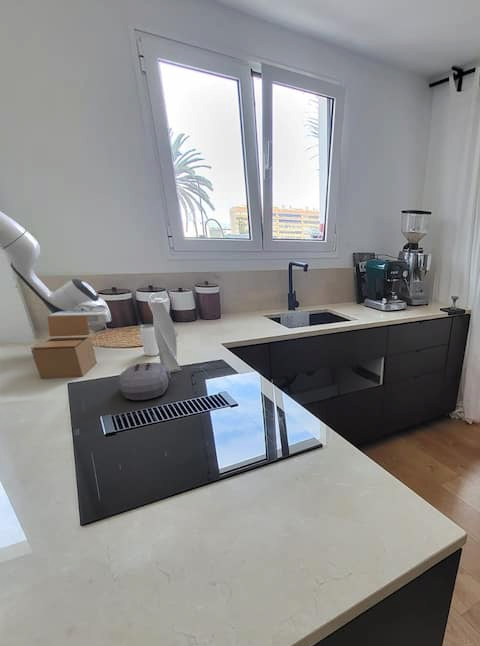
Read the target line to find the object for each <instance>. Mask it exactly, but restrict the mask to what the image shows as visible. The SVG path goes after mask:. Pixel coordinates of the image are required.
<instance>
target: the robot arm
mask: <svg viewBox="0 0 480 646" xmlns="http://www.w3.org/2000/svg"><path fill="white" fill-rule="evenodd" d="M0 249H1V250H2V251H3V252H4V253H5V254H6V255H7V256H8V258H9V260H10V267H11V269H12V270H13V272H14V273H15V274H16V276H17V277H19V279H21V281H22V282H23V283H24V284H25V285H26V286H27V287H28V288H29V289H30V290H31V291H32V292H33V293H34V294H35V295H36V297H38V298H39V299H40V300H41V302H42V303H43V305H45V307H46V308H47V309H48V310H49V312H51V313H50V314H49V316H80V315H87V316H88V325H89V326H92V325H96V324H100V323H109V322H112V315H111V311H110V308H109V306H108V303H107V302H106V301H105V300H104V299H103V298H101V297H99V295H98V292H97V291H96V290H95V288H94V287H93V286H92V285H91V284H90V283H88V282H86V281H85V280H82V279H78V278H72V279H71V280H69V281H68V282H66V283H65V284H63V285H62V286H61V287H59V288H58V289H56V290H55V291H51V290H50V289H49V288H48V287H47V286H46V285H45V284H44V283H43V282H42V281H41V279H40V278H39V277H37V275H36V274H35V266H36V264H37V262H38V261H39V258H40V256H41V246H40V243H39V241H38V240H37V239H36V238H35V237H34V236H33V235H32V234H31V233H30V232H29V231H28V230H26V229H25V228H24V227H23V226H22V225H20V224H19V223H18V222H17V221H15V219H13V218H11V217H10V216H8V215H7V214H6V213H4V212H2V211H1V210H0Z"/></svg>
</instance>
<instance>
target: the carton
mask: <svg viewBox="0 0 480 646" xmlns="http://www.w3.org/2000/svg"><path fill="white" fill-rule="evenodd" d="M30 349H31V350H30V351H31V354H32V357H33V360H34V363H35V366H36V369H37V372H38V375H39V378H40V380H44V379H61V378H63V379H64V378H78V377H79V378H80V377H84V376H85V375H87V373H88V372H89V371H91V369H92V368H93V367H94V366H96V364H97V363H98V362H97V361H98V360H97V358H96V354H95V350H94V346H93V342H92V339H91V336H69V337H51V338H48V339H47V340H45V341H39V342H38V343H36V344H35V345H34V344H33V346H30Z"/></svg>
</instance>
